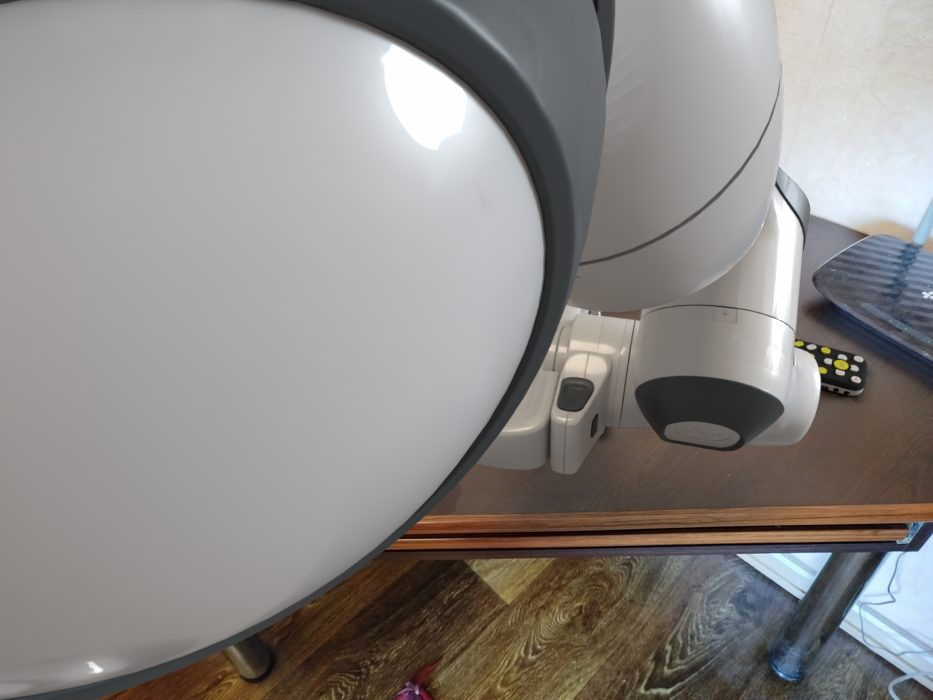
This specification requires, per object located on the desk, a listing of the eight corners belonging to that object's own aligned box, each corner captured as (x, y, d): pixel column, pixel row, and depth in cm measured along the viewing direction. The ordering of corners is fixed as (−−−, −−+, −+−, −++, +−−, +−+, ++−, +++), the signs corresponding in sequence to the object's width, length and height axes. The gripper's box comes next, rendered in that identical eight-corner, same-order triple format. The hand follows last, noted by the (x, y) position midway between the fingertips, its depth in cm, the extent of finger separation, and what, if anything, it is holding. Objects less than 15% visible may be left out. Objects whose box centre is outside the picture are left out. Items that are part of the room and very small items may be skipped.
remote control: (754, 337, 83) (758, 326, 81) (864, 366, 78) (870, 354, 77) (745, 368, 79) (749, 357, 77) (860, 401, 74) (866, 389, 73)
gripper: (609, 261, 57) (461, 246, 60) (570, 441, 43) (381, 408, 47) (605, 315, 61) (467, 298, 65) (568, 493, 47) (395, 459, 51)
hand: (430, 345), depth 56 cm, fingers open, 8 cm apart
